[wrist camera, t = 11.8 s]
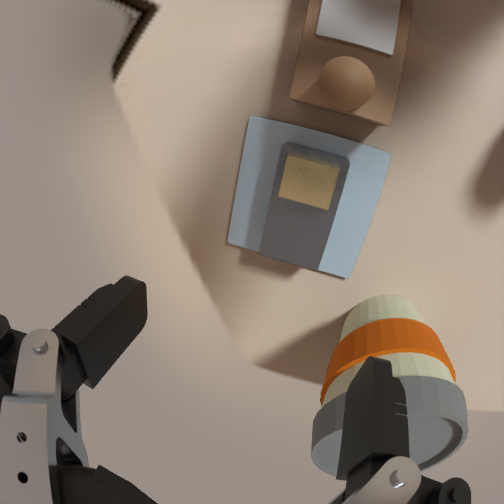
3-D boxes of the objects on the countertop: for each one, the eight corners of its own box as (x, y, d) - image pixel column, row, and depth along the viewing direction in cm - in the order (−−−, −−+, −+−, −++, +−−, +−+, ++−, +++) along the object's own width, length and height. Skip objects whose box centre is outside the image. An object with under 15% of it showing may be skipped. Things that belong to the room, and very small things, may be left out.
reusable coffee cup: (311, 354, 32) (286, 470, 19) (350, 263, 26) (350, 395, 13) (403, 376, 30) (410, 484, 17) (456, 296, 24) (503, 413, 11)
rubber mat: (251, 115, 23) (249, 115, 22) (390, 153, 21) (392, 154, 21) (229, 240, 29) (227, 242, 28) (348, 275, 27) (348, 279, 26)
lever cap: (288, 141, 23) (278, 145, 19) (348, 157, 22) (351, 165, 18) (266, 238, 27) (254, 260, 23) (319, 254, 26) (316, 278, 22)
